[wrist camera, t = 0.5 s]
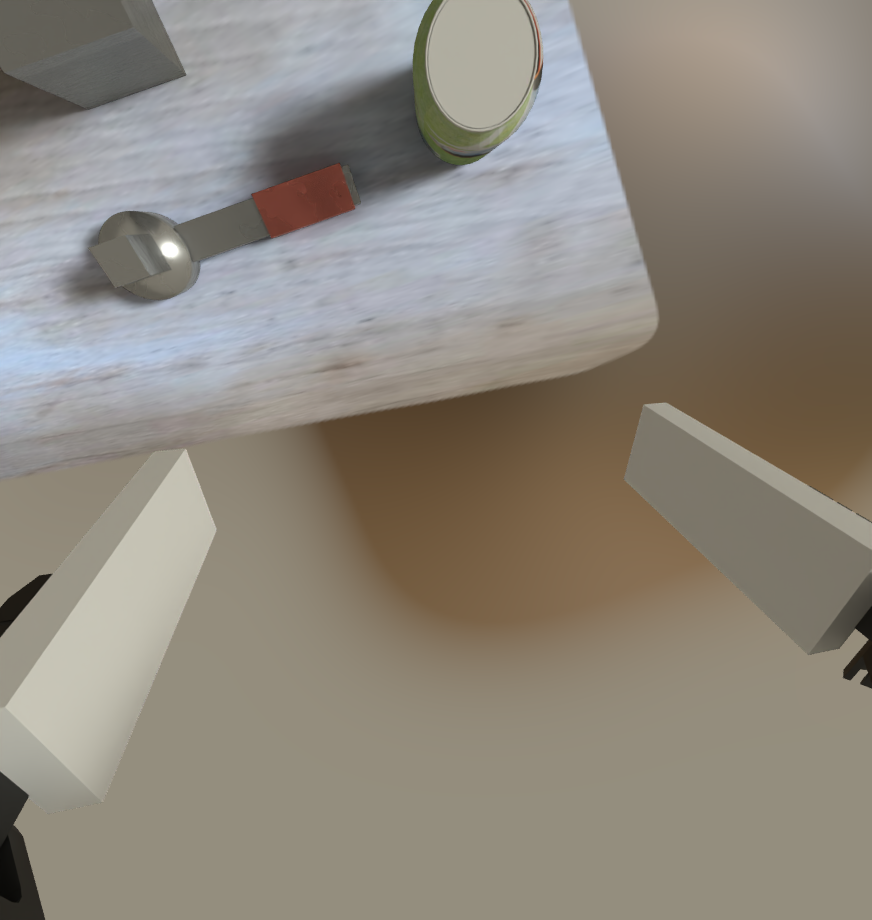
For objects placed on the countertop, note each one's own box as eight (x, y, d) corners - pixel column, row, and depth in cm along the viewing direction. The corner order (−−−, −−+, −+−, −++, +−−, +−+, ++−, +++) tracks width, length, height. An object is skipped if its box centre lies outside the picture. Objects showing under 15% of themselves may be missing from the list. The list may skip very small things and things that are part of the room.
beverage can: (511, 143, 29) (598, 100, 19) (417, 191, 29) (453, 174, 19) (482, 27, 26) (568, -101, 16) (377, 82, 26) (394, -7, 16)
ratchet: (96, 226, 27) (42, 227, 22) (339, 140, 27) (337, 123, 22) (148, 305, 30) (109, 321, 25) (368, 226, 30) (371, 227, 25)
